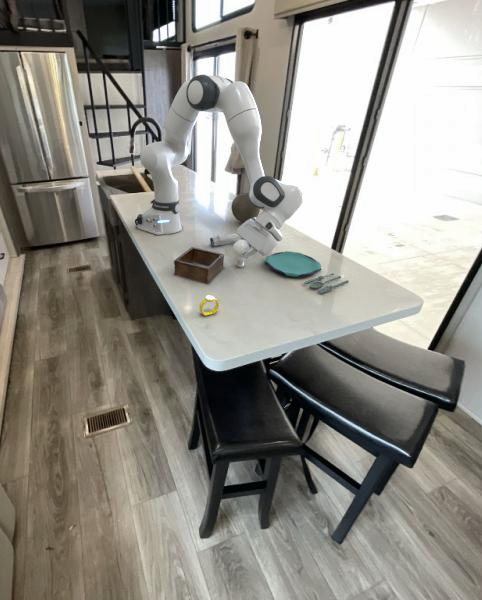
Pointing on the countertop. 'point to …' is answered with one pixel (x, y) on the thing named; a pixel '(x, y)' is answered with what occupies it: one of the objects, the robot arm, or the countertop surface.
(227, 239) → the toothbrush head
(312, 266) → the cutlery set
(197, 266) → the brown wooden box
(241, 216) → the cantaloupe
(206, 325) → the countertop surface
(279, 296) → the countertop surface
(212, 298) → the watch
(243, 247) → the lightbulb
